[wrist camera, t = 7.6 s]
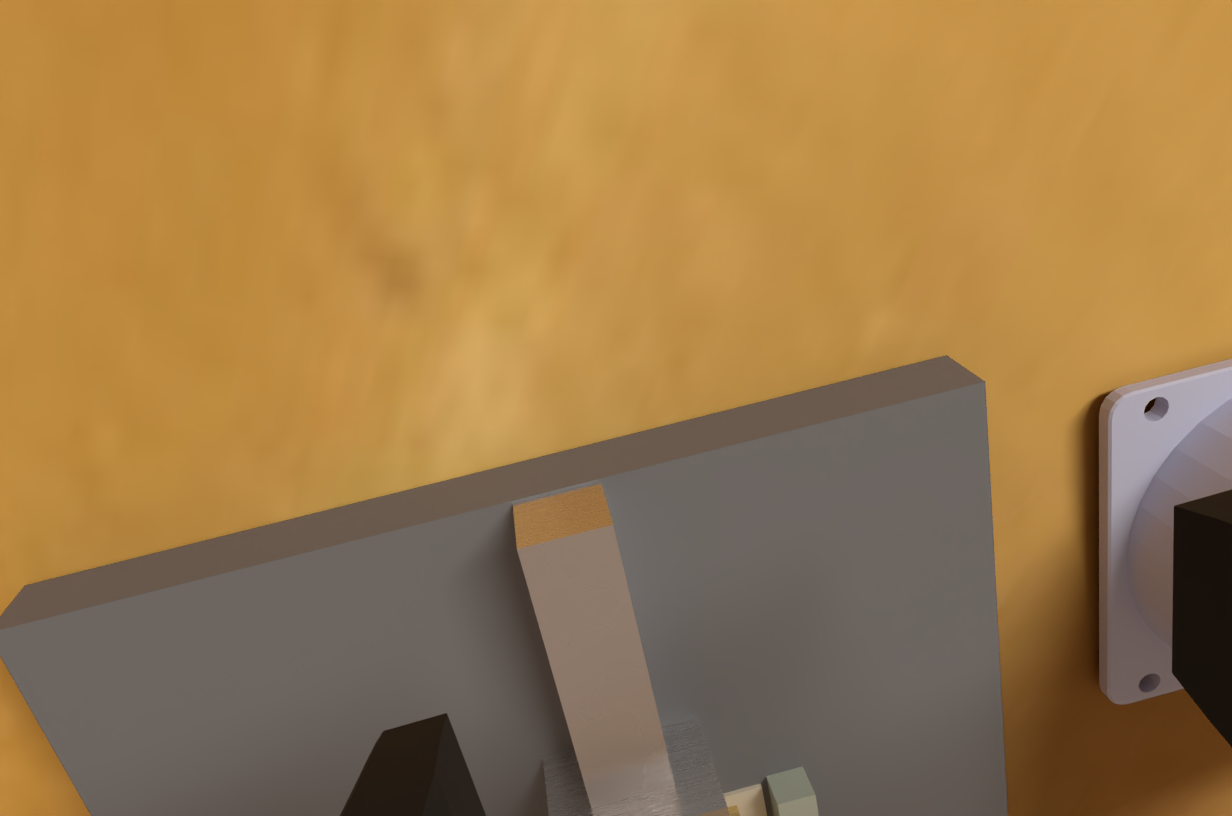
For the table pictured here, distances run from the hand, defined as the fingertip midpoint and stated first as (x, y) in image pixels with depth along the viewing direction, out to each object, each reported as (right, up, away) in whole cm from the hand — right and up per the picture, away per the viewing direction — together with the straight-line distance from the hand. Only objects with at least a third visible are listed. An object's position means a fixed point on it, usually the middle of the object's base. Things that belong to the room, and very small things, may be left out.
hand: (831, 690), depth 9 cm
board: (-2, -9, +14) cm, 17 cm away
